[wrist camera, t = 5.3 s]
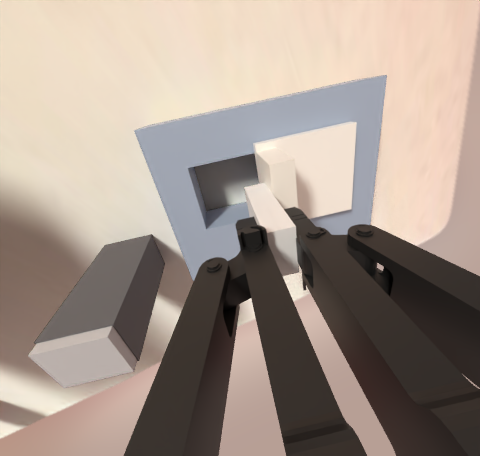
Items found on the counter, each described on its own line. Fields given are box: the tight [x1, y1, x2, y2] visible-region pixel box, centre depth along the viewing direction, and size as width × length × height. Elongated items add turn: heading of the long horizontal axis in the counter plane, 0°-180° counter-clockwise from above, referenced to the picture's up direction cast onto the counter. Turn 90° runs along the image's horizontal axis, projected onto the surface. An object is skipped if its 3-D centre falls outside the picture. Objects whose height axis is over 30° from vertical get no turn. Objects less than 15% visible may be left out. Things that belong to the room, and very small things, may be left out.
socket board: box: [134, 75, 387, 281], centre depth 21 cm, size 18×14×4 cm
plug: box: [28, 235, 165, 388], centre depth 20 cm, size 5×4×12 cm
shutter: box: [253, 121, 357, 219], centre depth 17 cm, size 8×7×5 cm
